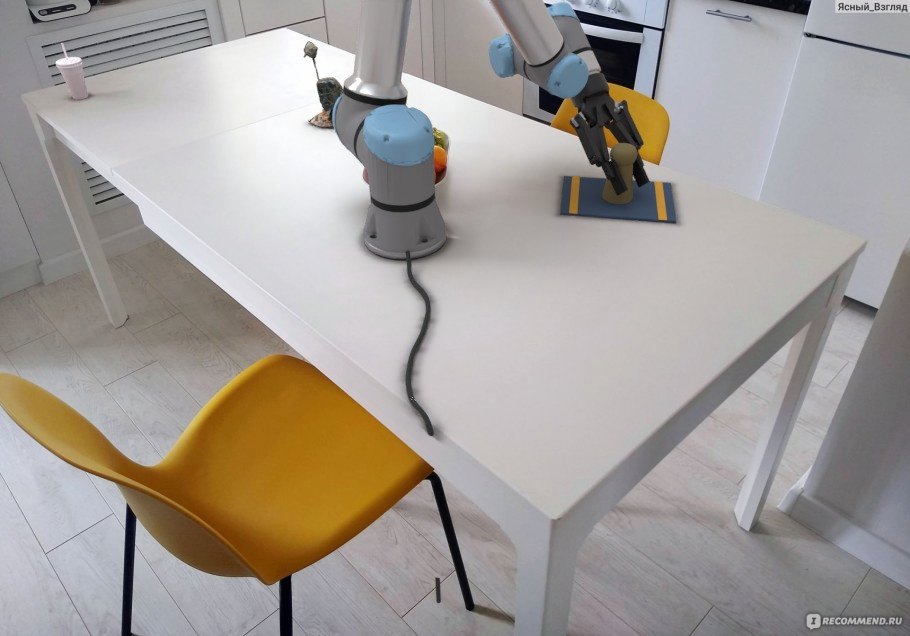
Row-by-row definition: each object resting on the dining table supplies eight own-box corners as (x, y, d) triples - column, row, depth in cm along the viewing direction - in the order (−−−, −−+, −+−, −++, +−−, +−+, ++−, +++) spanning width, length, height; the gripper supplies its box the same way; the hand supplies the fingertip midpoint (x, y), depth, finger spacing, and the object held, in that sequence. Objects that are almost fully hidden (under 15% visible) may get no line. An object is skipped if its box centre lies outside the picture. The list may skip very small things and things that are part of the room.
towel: (675, 223, 136) (676, 220, 136) (560, 214, 139) (560, 212, 139) (670, 184, 149) (670, 182, 148) (564, 177, 152) (564, 175, 151)
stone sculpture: (334, 134, 171) (324, 49, 158) (304, 123, 177) (292, 39, 164) (359, 124, 176) (351, 41, 163) (329, 113, 181) (319, 31, 169)
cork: (632, 205, 141) (640, 153, 134) (601, 202, 142) (608, 151, 135) (632, 191, 146) (640, 140, 139) (602, 188, 146) (609, 138, 140)
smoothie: (89, 90, 196) (71, 38, 187) (96, 97, 192) (79, 44, 184) (64, 96, 193) (45, 43, 184) (72, 103, 189) (53, 49, 180)
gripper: (607, 81, 147) (654, 183, 146) (538, 100, 139) (588, 208, 139) (629, 61, 140) (678, 168, 140) (558, 81, 133) (610, 194, 132)
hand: (633, 188), depth 139 cm, fingers closed on cork, 5 cm apart
